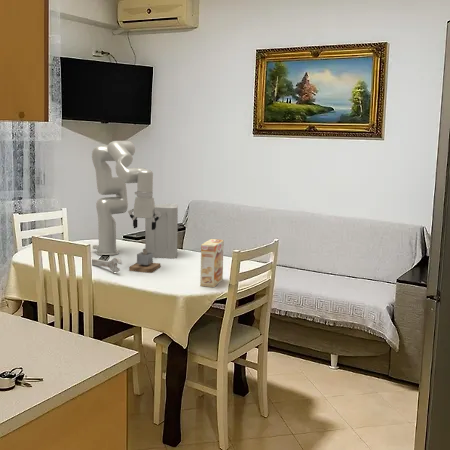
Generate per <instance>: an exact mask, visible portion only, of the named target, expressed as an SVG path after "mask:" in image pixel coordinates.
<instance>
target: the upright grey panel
mask: <svg viewBox="0 0 450 450" xmlns="http://www.w3.org/2000/svg"><path fill="white" fill-rule="evenodd" d="M178 207H179V204H178V203H173V202H171V203H164V204H163V203H162V204H160V203H159V204H155V210H156V211H158V212H160V213H161V216H160V218H159V219H158V220H157V221H156V228H155V229H154V230H152V222H153V221H152V220H151V218H144V220H145V230H144V231H145V240H144V242H145V246H144V248H146V249H147V252H149V253H153V259H168V260H169V259H171V260H172V259H173V260H174V259H177V258H178V217H179V216H178V214H179V213H178V211H179V209H178ZM156 217H157V214H155V218H156Z"/></svg>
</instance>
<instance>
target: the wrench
mask: <svg viewBox="0 0 450 450" xmlns="http://www.w3.org/2000/svg"><path fill="white" fill-rule="evenodd" d="M91 259H92V265H91V266H97V267H98V266H99V267H105V268H109V270H110V271H111V272H112V274H115V273H114V272H116V273H119V272H120V271H121V269H120V268H119V267H118V265H122V264H123V263H122V260H121V258H120V257H113V258H112V259H111V260H103V259H96V258H91Z"/></svg>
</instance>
